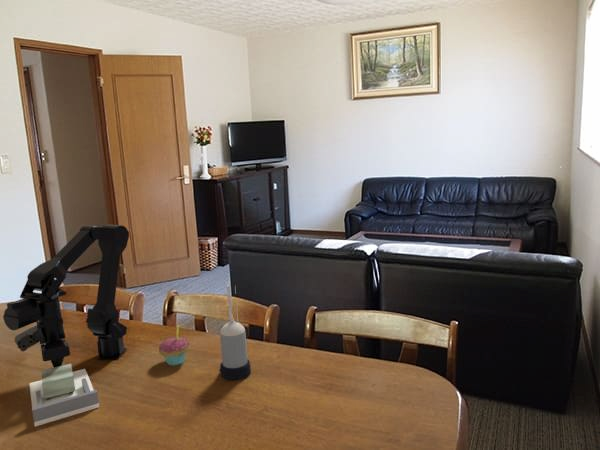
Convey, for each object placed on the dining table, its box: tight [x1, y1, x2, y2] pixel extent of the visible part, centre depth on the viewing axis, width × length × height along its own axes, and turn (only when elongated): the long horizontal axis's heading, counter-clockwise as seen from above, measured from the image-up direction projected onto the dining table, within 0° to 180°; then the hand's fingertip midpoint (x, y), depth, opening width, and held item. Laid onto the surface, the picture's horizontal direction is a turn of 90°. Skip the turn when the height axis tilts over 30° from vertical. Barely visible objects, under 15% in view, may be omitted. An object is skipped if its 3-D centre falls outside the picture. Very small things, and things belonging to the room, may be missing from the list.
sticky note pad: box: [41, 363, 75, 400], centre depth 128 cm, size 9×7×5 cm
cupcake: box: [158, 322, 191, 366], centre depth 142 cm, size 9×8×12 cm
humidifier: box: [218, 284, 252, 382], centre depth 132 cm, size 8×8×25 cm
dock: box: [28, 368, 100, 427], centre depth 127 cm, size 24×14×5 cm, turn 31°
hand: (57, 370), depth 133 cm, fingers closed
